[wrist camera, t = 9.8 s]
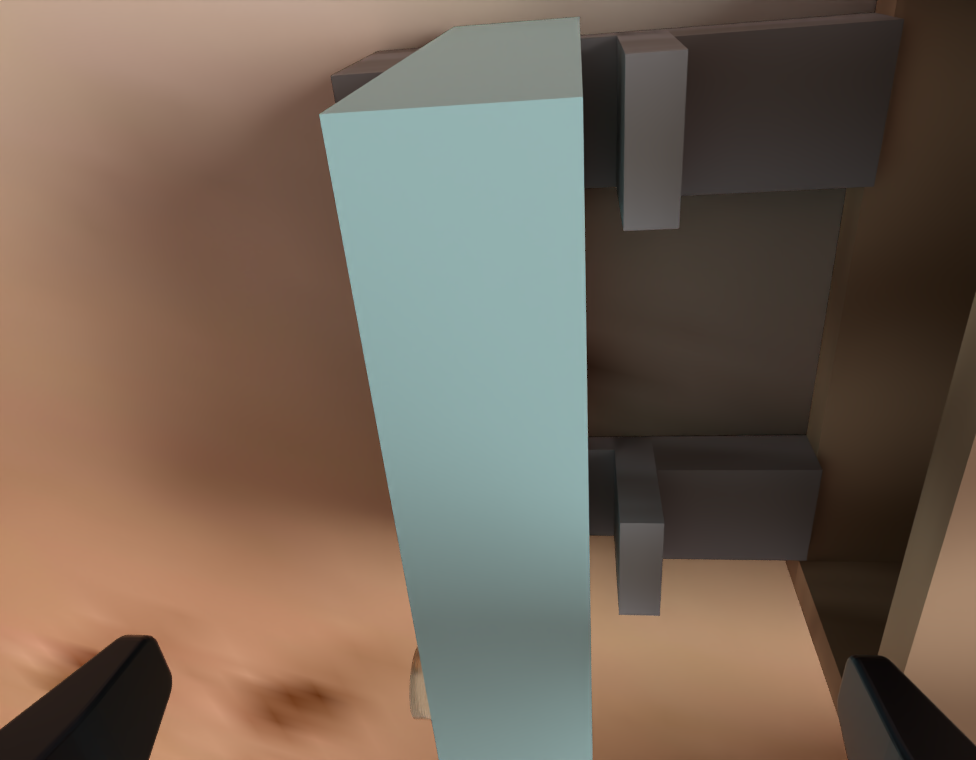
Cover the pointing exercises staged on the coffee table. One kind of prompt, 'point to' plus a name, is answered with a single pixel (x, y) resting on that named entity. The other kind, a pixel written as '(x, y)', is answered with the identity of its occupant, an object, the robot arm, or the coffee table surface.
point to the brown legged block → (847, 330)
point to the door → (480, 371)
